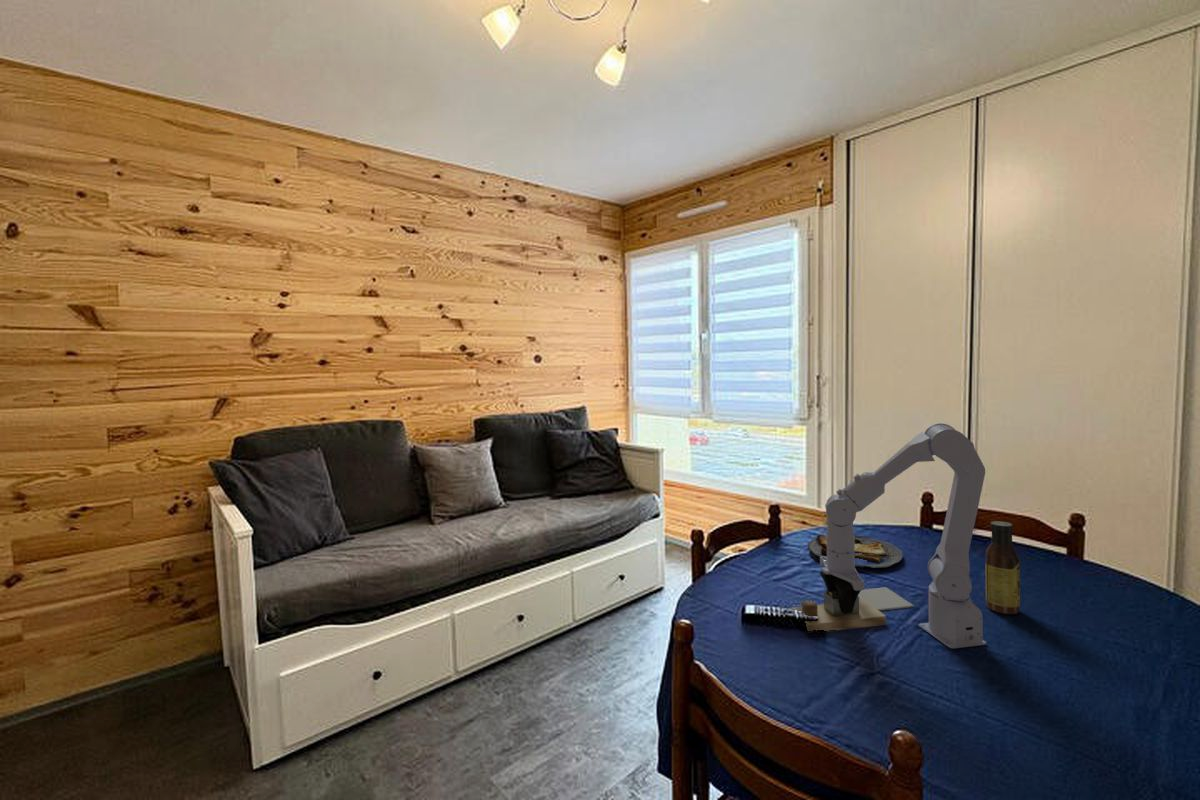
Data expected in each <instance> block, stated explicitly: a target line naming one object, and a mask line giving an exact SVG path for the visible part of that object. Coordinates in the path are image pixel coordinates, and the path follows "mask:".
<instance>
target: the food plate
mask: <svg viewBox="0 0 1200 800" xmlns="http://www.w3.org/2000/svg"><path fill="white" fill-rule="evenodd" d="M854 538H855V553H862V554H855V558H859V559H863V560H867V561H868V562H870V561H873V562H872V563H876V562H877V563H876V564H868V565H867V564H863V565H862V564H859V565H858V564H857V565H856V564H855V568H856V567H857V568H865V567H867V568H872V569H873V568H874V569H876V568H877V569H879V568H889V567H890V566H891V567H892V566H893V565H894V564H896V563H899V562H900V561H901V560H902V559H903V551H902V550H901V549H900V548H898V547H897V546H896V545H893V544H892V543H889V542H886V541H883V540H879V539H875V538H870V537H868V536H862V535H861V536H860V535H854ZM807 549H808V550H809V551H810V552H811V553H812V554H813V556H814V555H815V556H816V557H818V558H820V557H823V556H827V537H826V535H825V534H822V533H821V534H818V535H817V536H816V538H814V539H812V540H810V541H809V542H808V543H807ZM882 555H883V556H882ZM884 557H885V560H886V561H884V560H883V558H884Z"/></svg>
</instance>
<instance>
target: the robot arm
mask: <svg viewBox="0 0 1200 800" xmlns="http://www.w3.org/2000/svg"><path fill="white" fill-rule="evenodd" d="M933 456H936V457H937V458H939V459H940V460H942V461H943V462H945V463H946V464H947V465H948V466H949V467H950V468H951V470H953V472H954V474H953V478H952V484H951V489H950V495H949V499H948V505H947V509H946V515H945V518H944V523H943V529H942V532H941V534H942V535H941V538H940V543H939V544H938V545H937V547H936V550H935V553H934V555H933V556H932V557H931V558H930V559H929V561H928V562H927V571H928V574H929V575H930V576H931V578H932V581H931V583H930V584H929V585H928V622H920V623H918V626H919V627H920V628H921V629H922V630H924V631H925V632H927V633H928V634H929V635H930V636H932V637H934V638H935V639H936V640H938V641H939V642H941V643H942V644H944V646H947V647H948V648H950V649H960V648H968V647H977V646H978V647H979V646H985V645H987V641H986V640H984V637H983V636H984V635H983V634H984V633H983V630H984V629H983V627H984V626H983V625H984V624H983V623H984V620H983V619H984V618H983V613H982V611H981V609H980V608H979V607H978V606H977V605H976V604H974V603H973V601H972V599H971V597H970V596H971V595H970V594H971V592H972V589H973V584H972V581H971V578H970V570H971V566H970V565H971V564H970V558H969V557H970V556H969V554H970V553H969V552H970V548H971V542H972V538H973V534H974V533H973V532H974V529H975V523H976V519H977V515H978V510H979V505H980V499H981V496H982V495H981V494H982V491H983V487H984V482H985V476H986V468H985V465H984V463H983V462H982V460H981V458H980V456H979V454H978V452H977V450H976V448H975V444H974V443H973V442H972V441H971V440H970V439H969V438H968V437H967V436H966V435H964V433H962V432H960V431H959V430H957V429H955V428H954V427H953V426H951V425H950V424H947V423H940V422H939V423H935V424H932V425H930V426H929V427H928V428H927V429H926V430H925V431H922V432H920V433H918V434H917V435H915V436H914V437H913V438H912V439H910V441H908V442H907V443H906V444H905V445H904V446H902V447H901V448H900V449H899V450H898V451H897V452H896V453H894V455H892V456H891V457H890V458H889V459H887V460H886V461H885V462H884V463H883V464H882V465H880V466H879V467H878V468H877V469H876V470H875V471H873V472H868V471H867V472H865V471H864V472H862V473H861V474H859V473H856V474H855V475H854V476H853V477H852V478H853V481H851V482H849V484H848V485H846V486H845V487H844V488H843V489H840V488H839V489H837V491H836V494H833V495H831V496H830V497H828V499H827V500H826V503H825V507H824V508H825V513H826V517H827V520H826V526H827V527H826V531H825V532H826V535H825V536H826V537H827V556H823V557H820V556H819V565H821V566H822V570H821V571H820V572H819V574H820V575H819V576H820V577H821V578H822V580H823V582H824V586H826V590H827V591H834V590H838V593H839V597H840V605H841V610H842V613H844V614H847V613H852V612H853V608H854V605H855V601H856V599H857V597H858V595H859V593H860V591H861V590H864V589H865V581H864V579H862V577H861V576H860V574H859V573H858V570H857V569H856V567H855V538H854V536H855V528H854V521H855V519H856V516H857V513H859V512H862V511H863V510H864V509H865V508H867V507H868V506H870V505H871V504H872V503H873V502H875V501H876V500H877V499H878V498H880V497H881V496H882V495H883V494H885V490H886V488H885V486H886V484H888V483H890V482H891V481H893V479H895V478H896V477H898V476H899V475H901V474H902V473H903V472H905V471H906V470H908V469H909V468H910V467H912V466H914V465H915V464H916V463H923V462H925V463H926V462H927V463H928V462H935V458H934V457H933Z"/></svg>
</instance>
